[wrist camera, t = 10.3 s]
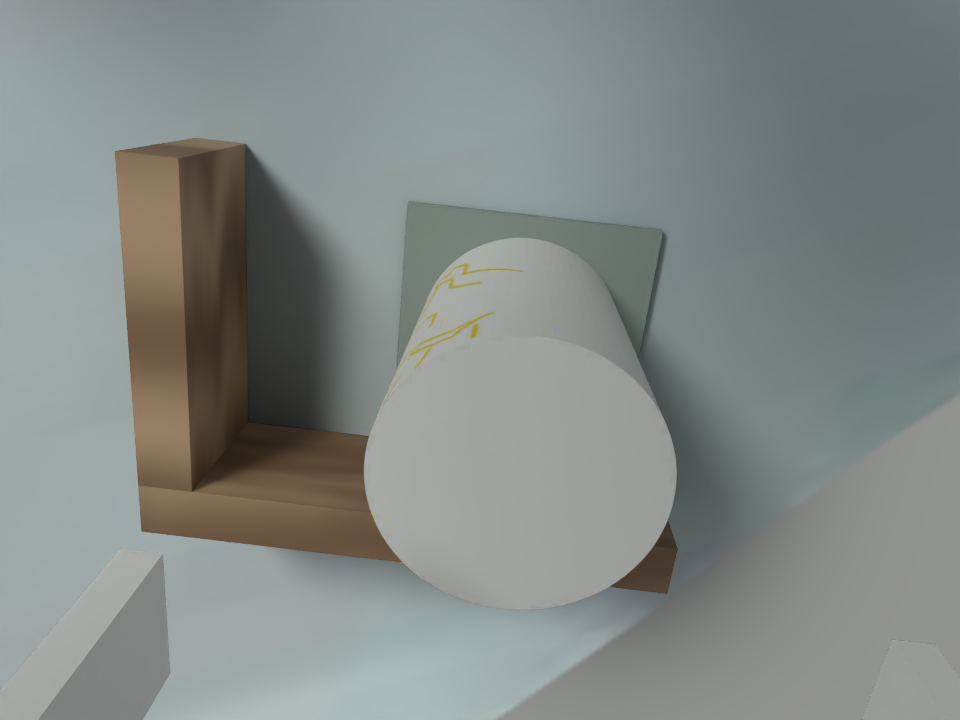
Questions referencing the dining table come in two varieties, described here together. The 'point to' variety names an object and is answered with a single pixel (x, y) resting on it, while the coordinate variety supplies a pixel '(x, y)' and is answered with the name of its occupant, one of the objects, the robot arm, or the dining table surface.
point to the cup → (520, 435)
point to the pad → (605, 247)
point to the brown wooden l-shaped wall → (232, 379)
